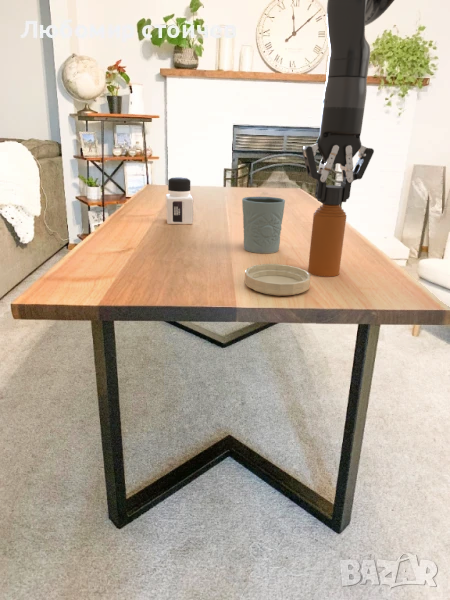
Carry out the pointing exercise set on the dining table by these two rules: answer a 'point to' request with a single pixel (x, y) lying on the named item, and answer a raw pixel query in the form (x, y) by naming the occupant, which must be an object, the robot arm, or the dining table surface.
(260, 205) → the grey blue embossed cup
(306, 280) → the dish
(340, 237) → the bottle
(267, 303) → the dining table surface
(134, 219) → the dining table surface
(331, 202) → the cap
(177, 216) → the container
